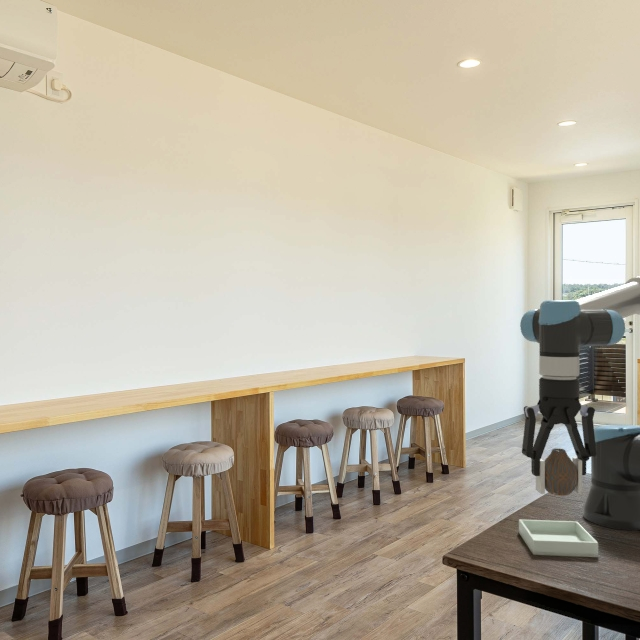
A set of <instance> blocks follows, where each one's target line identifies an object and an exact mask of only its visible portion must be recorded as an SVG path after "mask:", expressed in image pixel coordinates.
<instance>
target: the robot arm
mask: <svg viewBox="0 0 640 640" xmlns="http://www.w3.org/2000/svg"><path fill="white" fill-rule="evenodd" d="M539 307H540V308H536V309H530V310H527V311H526V312H525V313H524V314H523V315H522V317H521V319H520V325H519V326H520V332H521V335H522V337H523V338H524V339H526V340H527V341H529V342H534V343H538V344H539V351H538V352H539V359H538V360H539V362H538V363H539V364H538V366H539V369H538V370H539V371H538V374H539V375H540V376H541V377H540V378H539V379H538V396H539V398H538V401H537V404H535V405H531V406H528V405H525V406H524V407H523V412H524V417H525V419H524V420H525V421H524V429H523V438H522V446H521V453H522V455H523V456H525V457H526V458H529V459H531V461H530V462H531V470H530V471H531V474H532V475H533V476H535V491H537V492H538V493H540V494H541V495H543V494H546V493H545V491H546V489H545V460H543V458H542V457H543V454H544V451H545V448H546V446H547V442H548V440H549V438H550V435H551V431H552V430H553V429H554V427H555V425H560V424H562V425H564V426H565V428H566V430H567V433H568V435H569V439H570V442H571V445H572V447H573V450H574V452H575V455H576V456H575V457H574V456H573V457H572V458H571V460H572V462H573V463H574V465H575V467H576V470H577V484H576V487H575V489H574V490H573V491H575V492H576V493H577V494H582V493H583V476H586V475H587V462H588V461H589V459H590V458H591V460H590V461H591V462H590V465H591V466H590V467H591V468H590V469H591V473H590V475H591V476H590V477H591V478H590V479H591V481H590V483H591V485H590V488H589V490H588V492H587V496H586V498H585V499H584V500H585V501H584V504H583V507H582V516H583V518H584V519H585V520H587V522H588V521H589V522H591V523H593V524H596V525H597V526H598V525H599V526H602V527H606V528H610V529H611V528H612V529H616V530H625V531H627V530H628V531H640V425H639V424H638V425H637V424H607V425H600V426H596V427H595V428H594V426H595V425H594V417H595V413H596V410H595V409H596V408H594V407H593V406H589V405H583V404H581V402H580V399H579V398H580V380H579V379H578V377H579V376H580V351H581V349H580V347H607V346H613V345H615V344H618V343H619V342H621V340H622V339H623V337H624V335H625V333H626V323H625V319H624V318H627V317H631V316H633V315H639V316H640V275H638V276H634V277H631V278H629V279H628V280H627V281H626V282H625V283H624V284H623V285H620V286H616V287H612V288H610V289H606V290H604V291H601V292H597V293H594V294H591V295H587V296H584V297H581V298H578V299H575V300H571V299H570V300H569V299H568V300H566V299H565V300H564V299H563V300H561V299H560V300H549V299H548V300H544V301H542V302H541V303H540V305H539ZM539 413H540V414H541V415H542V419H541V421H540V427H539V430H538V433H537V434H536V435H537V436H536V438H535V432H536V424H537V423H536V421H537V420H536V419H537V418H536V417H538V414H539ZM579 413H580V414H579ZM578 414H579V415H581V427H582V428H581V429H582V435H583V440H582V437H581V434H580V431H579V429H578V424H577V421H576V416H577V415H578Z"/></svg>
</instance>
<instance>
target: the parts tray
mask: <svg viewBox="0 0 640 640" xmlns="http://www.w3.org/2000/svg"><path fill="white" fill-rule="evenodd" d="M518 533H519V536H521V538H522V540H523V541H524V543H525V544H526V546H527V547H528V549H529V551H530V552H531V553H532V555H534V556H552V557H553V556H556V557H557V556H559V557H583V558H599V542H598V540H596V539H595V538H594V537H593V536H592V535H591V534H590V533H589V532H588V531H587V530H586V529H585V528H584V527H583V526H582V525H581V524H580V523H579V521H571V520H548V519H547V520H544V519H542V520H541V519H518Z"/></svg>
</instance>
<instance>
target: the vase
mask: <svg viewBox="0 0 640 640" xmlns="http://www.w3.org/2000/svg"><path fill="white" fill-rule="evenodd" d="M544 461H545V491H546V492H547V493H548V494H551V495H554V496H557V497H559V496H561V497H564V496H565V497H566V496H569V495H570V494H572V492H573V491H574V489H575V487H576V484H577V470H576V467H575V465H574V463H573V462H572V458H570V456H568V454H567V451H566V449H564V448H561V447H560V448H552V449H551V452H550V453H549V454H548V456H547V457H546V458H545V460H544Z"/></svg>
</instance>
